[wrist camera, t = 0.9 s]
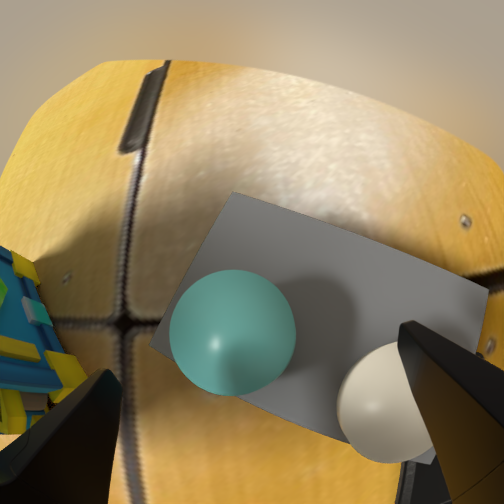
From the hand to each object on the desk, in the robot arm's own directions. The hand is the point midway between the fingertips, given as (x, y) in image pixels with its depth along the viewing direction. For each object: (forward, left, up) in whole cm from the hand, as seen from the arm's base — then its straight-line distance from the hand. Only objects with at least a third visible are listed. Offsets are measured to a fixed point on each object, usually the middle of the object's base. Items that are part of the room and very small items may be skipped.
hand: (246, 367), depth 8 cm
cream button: (+1, -6, -8) cm, 10 cm away
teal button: (+1, +2, -8) cm, 8 cm away
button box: (+3, -2, -15) cm, 15 cm away
